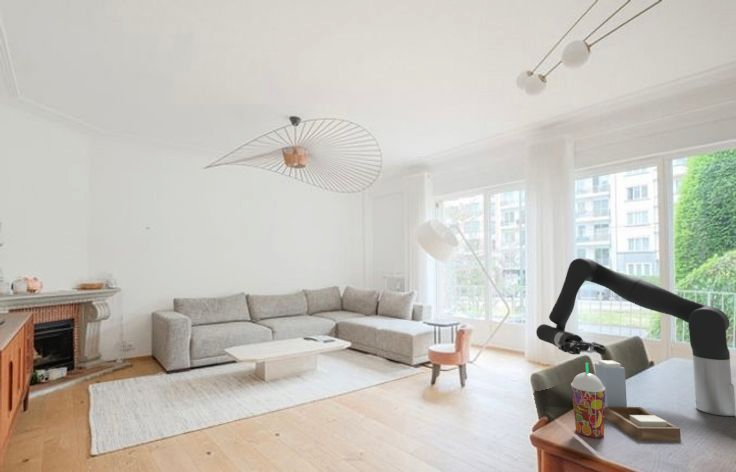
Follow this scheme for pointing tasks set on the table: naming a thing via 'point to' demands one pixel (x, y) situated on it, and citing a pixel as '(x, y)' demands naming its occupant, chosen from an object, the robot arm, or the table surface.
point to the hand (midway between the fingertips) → (591, 351)
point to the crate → (622, 420)
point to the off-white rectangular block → (648, 421)
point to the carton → (612, 382)
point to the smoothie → (588, 404)
